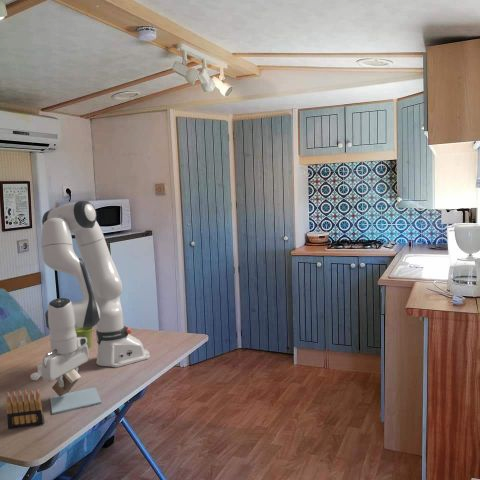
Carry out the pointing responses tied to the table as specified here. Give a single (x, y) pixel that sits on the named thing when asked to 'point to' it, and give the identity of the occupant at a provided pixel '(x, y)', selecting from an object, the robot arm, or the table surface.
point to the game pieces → (39, 373)
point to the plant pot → (85, 334)
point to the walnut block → (67, 382)
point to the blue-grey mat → (74, 400)
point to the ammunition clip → (21, 416)
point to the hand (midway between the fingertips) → (68, 382)
